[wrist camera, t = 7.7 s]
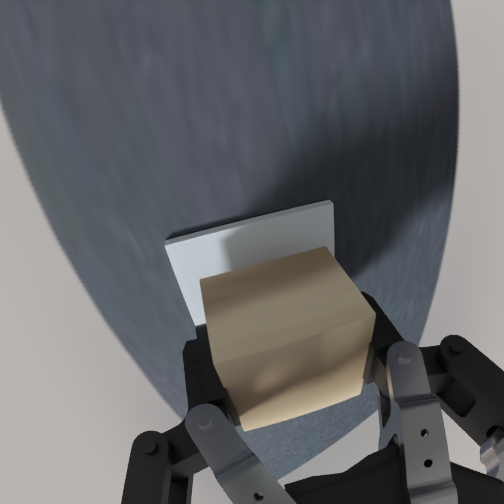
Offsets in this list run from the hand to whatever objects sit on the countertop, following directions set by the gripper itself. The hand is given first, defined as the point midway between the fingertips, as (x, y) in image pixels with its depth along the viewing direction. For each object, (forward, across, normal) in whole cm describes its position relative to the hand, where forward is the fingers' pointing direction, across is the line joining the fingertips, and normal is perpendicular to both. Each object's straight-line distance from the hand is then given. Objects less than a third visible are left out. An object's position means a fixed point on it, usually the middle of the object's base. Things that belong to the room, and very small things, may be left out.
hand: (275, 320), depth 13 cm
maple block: (+1, 0, 0) cm, 1 cm away
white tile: (+2, 0, 0) cm, 2 cm away
